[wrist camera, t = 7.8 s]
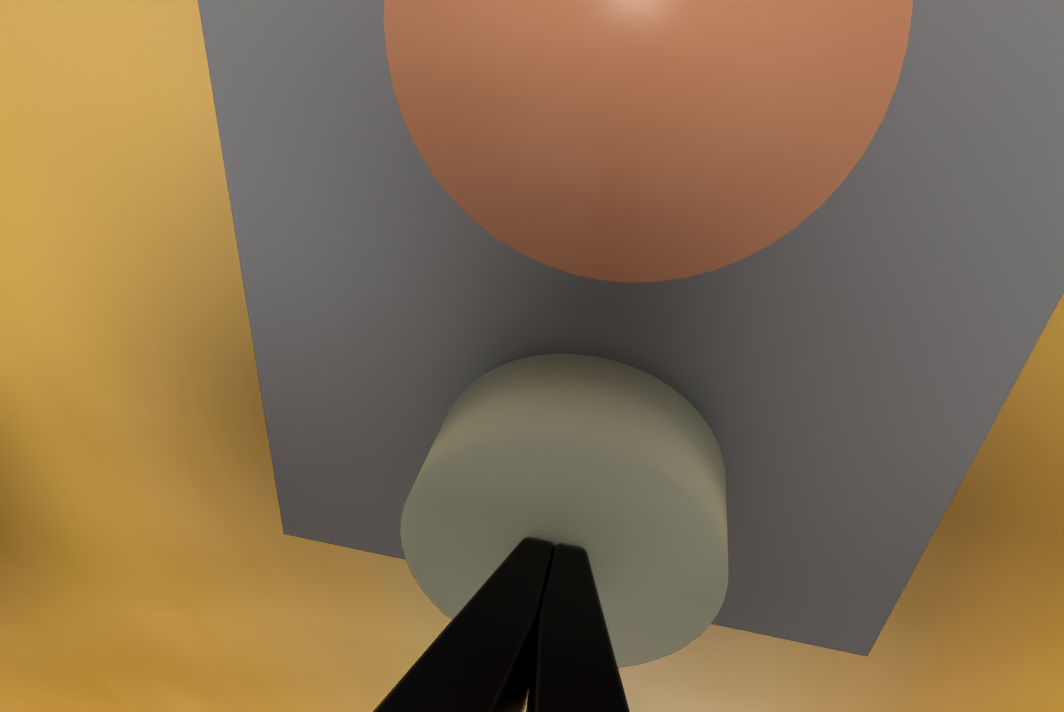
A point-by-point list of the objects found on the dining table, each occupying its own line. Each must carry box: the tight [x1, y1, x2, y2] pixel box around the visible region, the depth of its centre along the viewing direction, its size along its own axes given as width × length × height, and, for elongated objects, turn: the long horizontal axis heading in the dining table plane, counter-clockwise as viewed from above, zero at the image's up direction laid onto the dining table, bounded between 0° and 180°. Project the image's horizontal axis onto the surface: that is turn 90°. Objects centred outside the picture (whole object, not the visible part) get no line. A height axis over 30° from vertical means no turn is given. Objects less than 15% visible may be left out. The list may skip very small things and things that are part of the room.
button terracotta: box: [384, 0, 913, 282], centre depth 7 cm, size 4×4×2 cm
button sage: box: [400, 354, 728, 668], centre depth 11 cm, size 4×4×2 cm
